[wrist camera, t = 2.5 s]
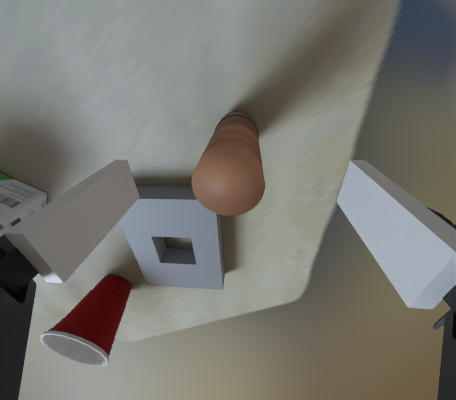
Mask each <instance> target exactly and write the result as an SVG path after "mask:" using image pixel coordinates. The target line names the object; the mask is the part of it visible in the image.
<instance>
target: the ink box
mask: <svg viewBox="0 0 456 400" xmlns="http://www.w3.org/2000/svg"><path fill="white" fill-rule="evenodd" d="M46 203H47V194H46V193H45V192H43V191H41V190H38V189H36V188H34V187H31V186H29V185H27V184H25V183H22V182H20V181H18V180H16V179H13V178H11V177H9V176H6V175H4V174H2V173H0V237H1V236H2V235H4V234H3V232H5V231H7V230H8V229H10V228H11V227H13V226H14V225H16V224H17V223H19V222H20V221H22V220H24V219H25V218H27V217H28V216H30V215H31V214H33V213H34V212H36V211H37V210H39V209H41V208H42V207H44V206H45V205H46Z"/></svg>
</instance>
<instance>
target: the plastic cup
mask: <svg viewBox="0 0 456 400" xmlns="http://www.w3.org/2000/svg"><path fill="white" fill-rule="evenodd" d="M130 290H131V285H130V283H129V282H128V281H127V280H125V279H123V278H121V277H119V276H115V275H108V276H105V277H104V278H103V279H102V280H101V281H100V282H99V283H98V284H97V285H96V286H95V287H94V289H93V290H91V291H90V292H89V293H88V294H87V295H86V296H85V297H84V298H83V299H82V300H81V301H80V302H79V303H78V305H77V306H76V307H75V308H74V309H73V310H72V311H71V312H70V313H69V314H68V315H67V316H66V317H65V318H63V319H62V320H61V321H60V322H59V323H58V324H56V325H55V326H54V327H53V328H51V329H50V330H49V331H45V332H44V333H43V334H42V335H41V336H40V340H41V341H42V343H43V344H44V345H45V346H47V347H48V348H49V349H51V350H52V351H54V352H56V353H57V354H59V355H61V356H63V357H66V358H68V359H70V360H73V361H76V362H79V363H82V364H86V365H91V366H105V365H107V364H108V362H109V354H110V351H111V348H112V344H113V342H114V338H115V335H116V332H117V329H118V327H119V324H120V321H121V318H122V315H123V313H124V310H125V307H126V303H127V300H128V297H129V294H130Z"/></svg>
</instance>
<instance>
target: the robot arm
mask: <svg viewBox="0 0 456 400" xmlns="http://www.w3.org/2000/svg"><path fill="white" fill-rule="evenodd" d="M139 198H140V197H139V194H138V191H137V188H136V185H135V182H134V179H133V176H132V173H131V170H130V167H129V164H128V161H127V160H115V161H113V162H112V163H110V164H108V165H107V166H105V167H104V168H102V169H101V170H99V171H98V172H96V173H95V174H93V175H91V176H90V177H88V178H87V179H85V180H84V181H82V182H81V183H79V184H78V185H76V186H74V187H73V188H71V189H70V190H68V191H67V192H65V193H64V194H62V195H61V196H59V197H58V198H56V199H54V200H53V201H51V202H50V203H48V204H47V205H45V206H44V207H42V208H41V209H39V210H37V211H36V212H34V213H33V214H31V215H30V216H28V217H27V218H25V219H24V220H22V221H20V222H19V223H17V224H16V225H14V226H13V227H11V228H10V229H8V230H7V231H5V232H3V234H4V235H2V236H1V237H0V400H18V397H19V390H20V384H21V378H22V372H23V366H24V359H25V352H26V347H27V341H28V335H29V328H30V322H31V316H32V310H33V304H34V298H35V291H36V283H35V282H34V281H33V278H34V277H35V276H36V275H37V274H38V273H39V274H40V275H41V276H42V277H43V278H44V279H45V280H46V282H52V283H64V282H65V281H66V280H67V279H68V278H69V277H70V276H71V275H72V273H73V272H74V271H75V270H76V269H77V268H78V267H79V265H80V264H81V263H82V262H83V261H84V260H85V259H86V258H87V256H88V255H89V254H90V253H91V252H92V251H93V250H94V249H95V247H96V246H97V245H98V244H99V243H100V242H101V241H102V239H103V238H104V237H105V236H106V235H107V234H108V233H109V232H110V230H111V229H112V228H113V227H114V226H115V225H116V224H117V222H118V221H119V220H120V219H121V218H122V217H123V216H124V215H125V213H126V212H127V211H128V210H129V209H130V208H131V207H132V206H133V204H134V203H135V202H136V201H137V200H138V199H139ZM337 203H338V205H339V206H340V207H341V209H342V210H343V212H344V213H345V215H346V216H347V218H348V219H349V221H350V222H351V224H352V225H353V227H354V228H355V229H356V231H357V233H358V234H359V236H360V237H361V239H362V240H363V242H364V243H365V244H366V246H367V247H368V249H369V250H370V252H371V253H372V255H373V256H374V258H375V259H376V261H377V262H378V264H379V265H380V267H381V268H382V269H383V271H384V273H385V274H386V276H387V277H388V278H389V280H390V281H391V283H392V284H393V286H394V287H395V289H396V290H397V292H398V293H399V295H400V296H401V298H402V299H403V300H404V302H405V304H406V305H407V306H408V307H409V308H423V309H433V308H434V307H435V306H436V305H437V304H438V303H439V302H440V301H441V300H442V299H444V301H445V302H446V303H447V304H448V305H449V307H451V309H450V310H449V311H448V312H447V313H446V314H445V315H443V316H442V317H441V318H440V319H439V320H438V321H437V322H436V323H435V324H434V326H433V328H435V329H438V328H439V327H441V326H442V325H444V335H443V345H442V357H441V367H440V377H439V389H438V398H437V400H456V225H453V223H452V222H451V221H450V220H448V219H447V218H446V217H444V216H443V215H442V214H440V213H438V212H436V211H434V210H432V209H430V208H428V207H426V206H424V205H423V204H421V203H420V202H419V201H417V200H416V199H415V198H414V197H412V196H411V195H410V194H408V193H407V192H406V191H404V190H403V189H402V188H400V187H399V186H398V185H396V184H395V183H394V182H392V181H391V180H390V179H388V178H387V177H386V176H385V175H383V174H382V173H381V172H379V171H378V170H377V169H375V168H374V167H372V166H371V165H370V164H369V163H367V162H366V161H365V160H364V161H362V160H360V161H359V160H350V162H349V165H348V168H347V172H346V175H345V178H344V181H343V184H342V187H341V190H340V193H339V196H338V199H337Z"/></svg>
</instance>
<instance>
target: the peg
mask: <svg viewBox="0 0 456 400" xmlns="http://www.w3.org/2000/svg"><path fill="white" fill-rule="evenodd" d="M192 189H193V192H194V195H195V196H196V198H197V200H198V201H199V202H200V203H201V204H202V205H203V206H204V207H205V208H207V209H208V210H210V211H212V212H214V213H217V214H220V215H227V216H233V215H239V214H243V213H246V212H248V211H250V210H251V209H253V208H254V207H255V206H256V205H257V204H258V203H259V201H260V200H261V198H262V196H263V193H264V189H265V181H264V174H263V168H262V161H261V154H260V147H259V140H258V131H257V127H256V124H255V121H254V120H253V118H252V117H251V116H250V115H248V114H247V113H245V112H241V111H233V112H230V113H228V114H226V115H225V116H224V117H223V118H222V119H221V121H220V122H219V123H218V125H217V127H216V129H215V132H214V134H213V136H212V138H211V139H210V141H209V143H208V145H207V147H206V149H205V151H204V153H203V155H202V156H201V158H200V160H199V162H198V164H197V166H196V168H195V170H194V172H193V175H192Z"/></svg>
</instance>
